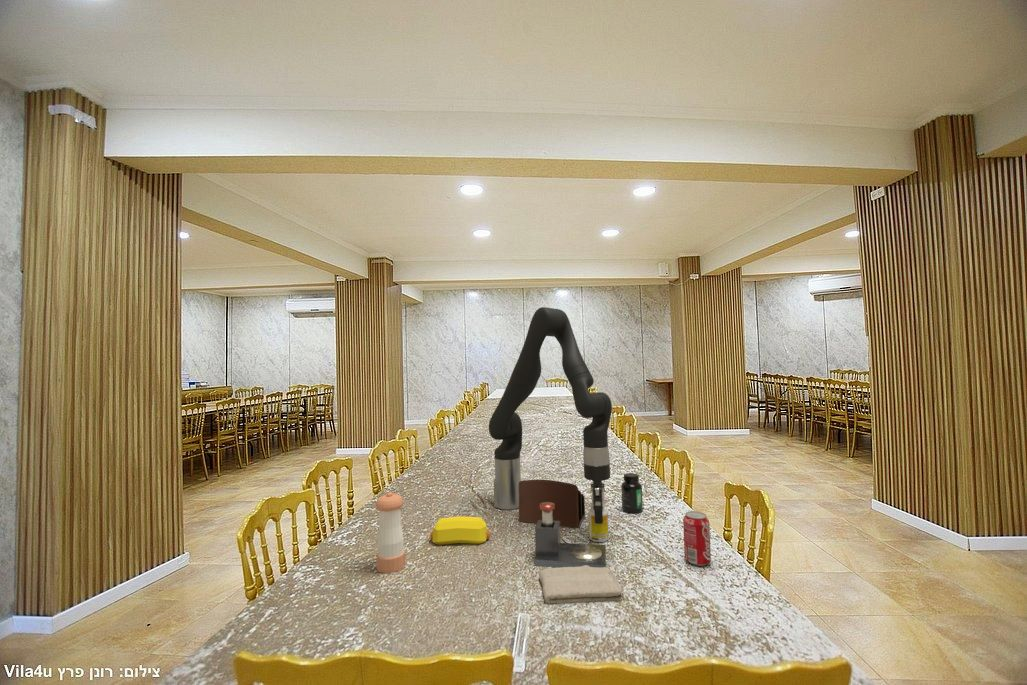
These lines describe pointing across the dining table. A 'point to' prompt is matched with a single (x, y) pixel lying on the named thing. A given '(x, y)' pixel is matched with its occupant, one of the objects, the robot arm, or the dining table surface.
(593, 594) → the washcloth
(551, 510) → the pin
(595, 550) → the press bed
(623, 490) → the supplement bottle
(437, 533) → the yellow sponge block
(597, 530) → the supplement bottle
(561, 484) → the letter holder
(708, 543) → the beverage can
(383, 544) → the pepper shaker
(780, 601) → the dining table surface
